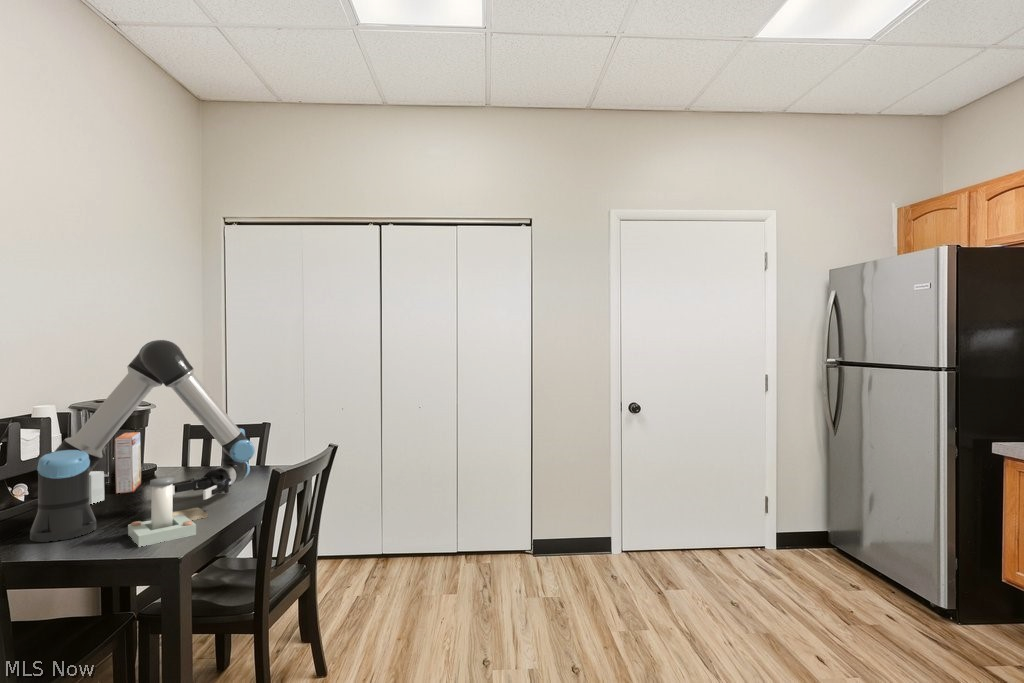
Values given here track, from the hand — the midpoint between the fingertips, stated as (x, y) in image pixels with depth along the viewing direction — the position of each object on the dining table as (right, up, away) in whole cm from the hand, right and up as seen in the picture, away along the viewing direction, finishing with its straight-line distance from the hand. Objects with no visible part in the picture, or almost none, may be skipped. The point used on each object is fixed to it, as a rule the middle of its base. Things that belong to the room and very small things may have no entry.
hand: (182, 495), depth 170 cm
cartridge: (0, -9, -10) cm, 13 cm away
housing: (0, -9, -10) cm, 13 cm away
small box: (-48, -10, +24) cm, 55 cm away
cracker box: (-46, -10, +43) cm, 64 cm away
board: (-3, -9, +6) cm, 12 cm away
